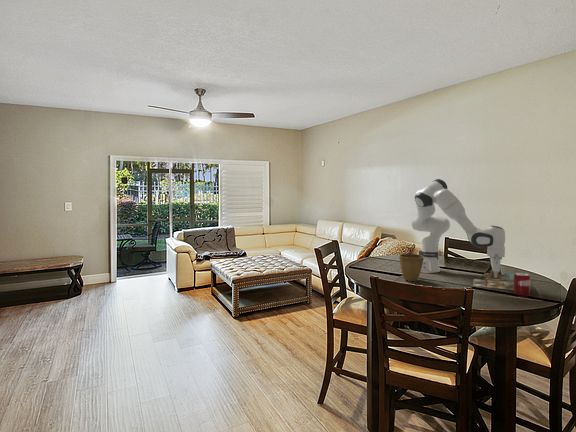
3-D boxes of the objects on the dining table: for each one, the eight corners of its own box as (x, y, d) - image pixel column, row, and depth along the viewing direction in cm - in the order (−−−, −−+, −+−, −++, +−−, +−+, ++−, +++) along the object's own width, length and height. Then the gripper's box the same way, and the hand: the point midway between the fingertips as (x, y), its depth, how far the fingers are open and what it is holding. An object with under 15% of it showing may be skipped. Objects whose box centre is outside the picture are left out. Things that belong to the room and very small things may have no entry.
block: (490, 278, 199) (491, 271, 199) (490, 276, 203) (490, 269, 203) (499, 279, 197) (500, 271, 197) (499, 277, 201) (499, 270, 201)
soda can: (510, 294, 184) (510, 272, 184) (522, 293, 185) (523, 272, 184) (520, 298, 177) (521, 275, 176) (533, 297, 178) (534, 275, 177)
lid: (505, 279, 191) (506, 275, 191) (504, 274, 203) (504, 270, 203) (523, 281, 187) (523, 276, 187) (520, 276, 199) (520, 271, 199)
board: (473, 287, 198) (473, 277, 197) (473, 280, 213) (473, 271, 212) (522, 293, 186) (522, 282, 186) (519, 285, 201) (519, 275, 200)
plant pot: (406, 283, 208) (406, 258, 207) (394, 277, 223) (395, 254, 222) (428, 282, 210) (428, 257, 209) (415, 276, 225) (416, 253, 224)
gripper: (503, 256, 188) (502, 281, 189) (500, 250, 206) (500, 272, 207) (490, 256, 191) (489, 279, 192) (488, 249, 209) (488, 271, 210)
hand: (495, 276), depth 200 cm, fingers closed on block, 4 cm apart
